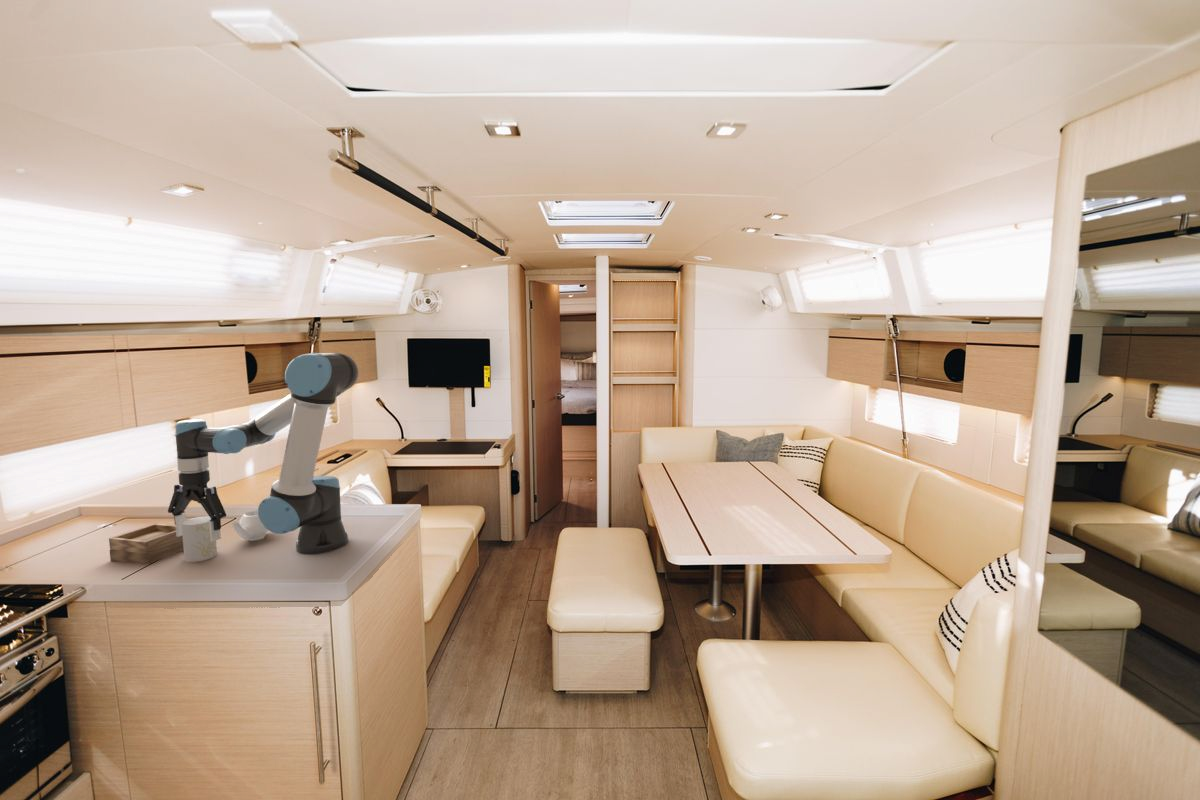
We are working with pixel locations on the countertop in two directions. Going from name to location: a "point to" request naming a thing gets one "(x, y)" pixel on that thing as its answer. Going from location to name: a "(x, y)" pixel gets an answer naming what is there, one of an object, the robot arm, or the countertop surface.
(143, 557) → the tower base
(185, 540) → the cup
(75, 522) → the countertop surface
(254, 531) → the teapot
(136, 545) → the wooden tray
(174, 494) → the robot arm
